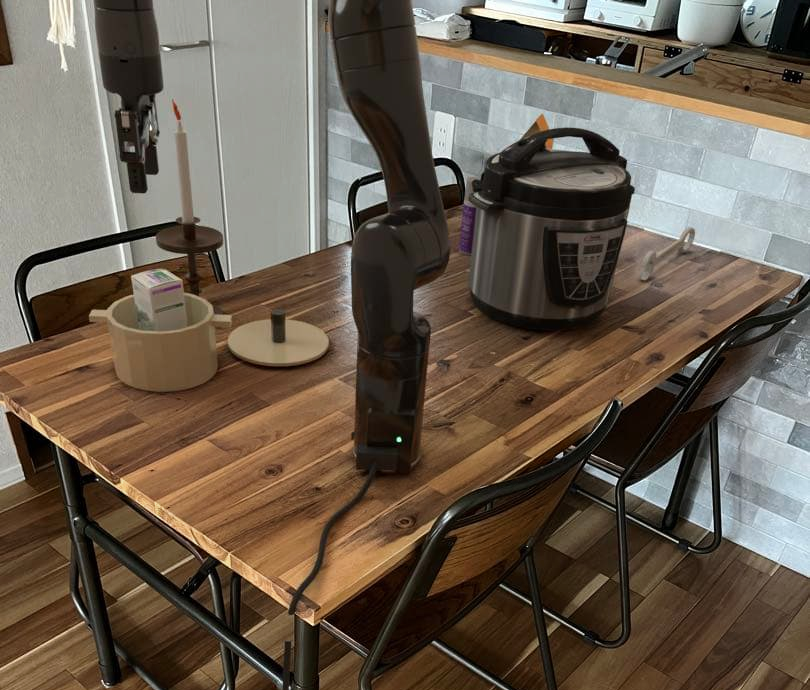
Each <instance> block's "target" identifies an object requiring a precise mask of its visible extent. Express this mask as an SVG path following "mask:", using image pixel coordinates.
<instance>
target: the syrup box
mask: <svg viewBox="0 0 810 690" xmlns="http://www.w3.org/2000/svg"><path fill="white" fill-rule="evenodd" d="M130 278H131V287H132V292H133V295H134V299H135V306H136V312H137V319H138V326H139V330H142V331H171V330H179V329H182V328H186V327H188V324H187V315H186V307H185V298H184V293H185V289H184V281H183V279H182V278H180V277H178V276H176V275H175V274H174V273H172V272H170V271H169V270H167V269H166V268H162V267H161V268H154V269H149V270H146V271H145V270H144V271H142V272H138V273H136V274H131V275H130Z"/></svg>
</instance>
